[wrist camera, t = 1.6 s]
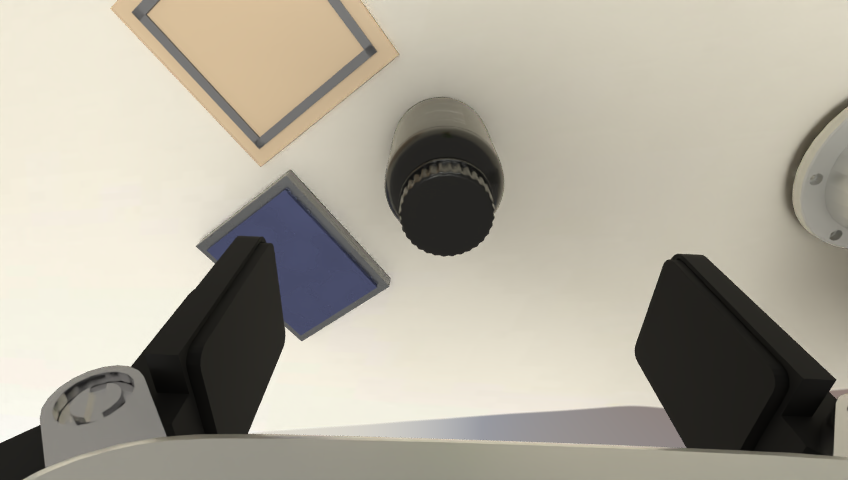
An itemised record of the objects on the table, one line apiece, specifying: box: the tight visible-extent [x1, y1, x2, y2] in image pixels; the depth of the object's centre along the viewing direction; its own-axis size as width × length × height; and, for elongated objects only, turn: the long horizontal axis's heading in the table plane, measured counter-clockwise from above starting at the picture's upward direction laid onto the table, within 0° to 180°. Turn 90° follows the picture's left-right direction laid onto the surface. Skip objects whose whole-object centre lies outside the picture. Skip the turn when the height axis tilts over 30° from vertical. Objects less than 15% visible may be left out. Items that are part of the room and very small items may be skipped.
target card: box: [110, 0, 399, 167], centre depth 29 cm, size 13×13×1 cm
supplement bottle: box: [385, 97, 504, 256], centre depth 27 cm, size 7×7×12 cm
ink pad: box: [196, 170, 390, 341], centre depth 37 cm, size 12×10×2 cm
